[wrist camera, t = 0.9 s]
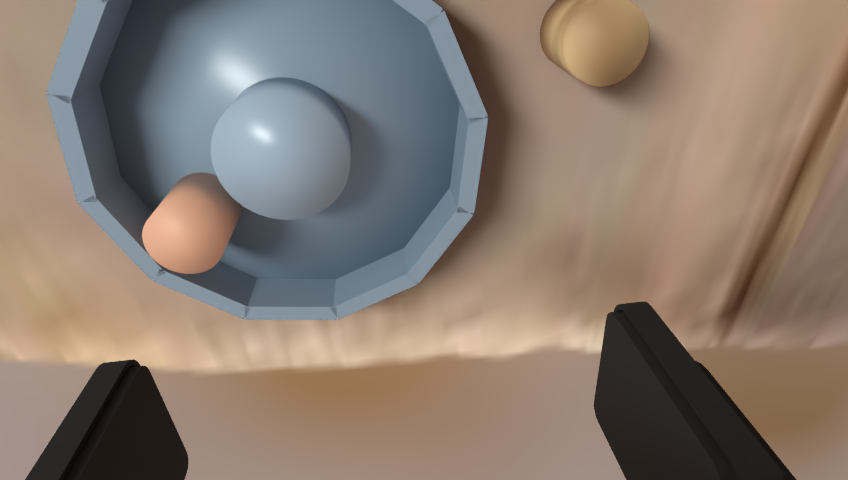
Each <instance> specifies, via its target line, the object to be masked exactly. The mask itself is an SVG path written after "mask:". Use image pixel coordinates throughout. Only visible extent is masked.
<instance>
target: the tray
mask: <svg viewBox="0 0 848 480" xmlns="http://www.w3.org/2000/svg"><path fill="white" fill-rule="evenodd" d="M46 92H47V93H49V94H46V96H47V100H48V103H49V107H50V110H51V114H52V117H53V121H54V124H55V128H56V131H57V135H58V138H59V141H60V145H61V148H62V152H63V155H64V159H65V162H66V166H67V169H68V173H69V176H70V180H71V183H72V187H73V190H74V194H75V197H76V201H77V202H79V203H78V204H79V205H80V206H81V207H82V208H83V209H84V210H85V212H86V213H87V214H88V215H89V216H90V217H91V218H92V219H93V220H94V221H95V222H96V223H97V224H98V225H99V226H100V227H101V228H102V229H103V230H104V231H105V232H106V233H107V234H108V236H109V237H110V238H111V239H112V240H113V241H114V242H115V243H116V244H117V245H118V246H119V247H120V248H121V249H122V250H123V251H124V252H125V253H126V254H127V255H128V256H129V257H130V259H131V260H132V261H133V262H134V263H135V264H136V265H137V266H138V267H139V268H140V269H141V270H142V271H143V272H144V273H145V274H146V275H147V276H148V277H149V278H150V279H151V280H152V279H154V280H153V281H154V282H156V283H158V284H161V285H163V286H165V287H168V288H170V289H173V290H175V291H177V292H180V293H182V294H185V295H187V296H189V297H192V298H194V299H196V300H199V301H201V302H204V303H206V304H208V305H211V306H213V307H216V308H218V309H220V310H223V311H225V312H228V313H230V314H232V315H235V316H237V317H239V318H242V319H244V318H246V320H337V318H338V319H341V318H343V317H345V316H348V315H350V314H352V313H354V312H357V311H359V310H361V309H363V308H366V307H368V306H370V305H372V304H375V303H377V302H379V301H381V300H384V299H386V298H388V297H390V296H393V295H395V294H397V293H399V292H402V291H404V290H406V289H408V288H411V287H413V286H415V285H417V282H418V283H420V281H421V280H422V279H423V278H424V276H425V275H426V274H427V273H428V271H429V270H430V269H431V268H432V266H433V265H434V264H435V263H436V261H437V260H438V259H439V258H440V256H441V255H442V254H443V253H444V251H445V250H446V249H447V248H448V246H449V245H450V244H451V243H452V241H453V240H454V239H455V238H456V236H457V235H458V234H459V233H460V231H461V230H462V229H463V228H464V226H465V225H466V224H467V223H468V221H469V220H470V219H471V218H472V216H473V213H474V212H475V205H476V198H477V191H478V184H479V178H480V171H481V164H482V157H483V150H484V144H485V137H486V130H487V123H488V117H487V116H488V115H487V112H486V110H485V108H484V105H483V103H482V100H481V98H480V96H479V93H478V91H477V88H476V86H475V83H474V81H473V79H472V76H471V74H470V71H469V69H468V66H467V64H466V62H465V59H464V57H463V54H462V52H461V50H460V47H459V45H458V42H457V40H456V37H455V35H454V33H453V30H452V28H451V25H450V23H449V20H448V18H447V16H446V13H445V11H444V10H443V8H442V7H440V6H439V5H438V4H437V3H436V2H435V1H433V0H78V1H77V4H76V7H75V10H74V13H73V16H72V19H71V22H70V25H69V27H68V30H67V33H66V36H65V39H64V42H63V45H62V48H61V51H60V53H59V56H58V59H57V62H56V65H55V68H54V71H53V74H52V77H51V79H50V82H49V85H48V88H47V91H46ZM198 172H204V173H210V174H214V175H217V177H218V179H219V181H220V183H221V184H222V186H223V187H224V189H225V190H226V191H227V192H228V193H229V195H230V196H231V197H232V198H234V199H235V200H236V201H237V202H238V203H240V204H241V205H242V213H241V216H240V218H239V220H238V222H237V225H236V227H235V229H234V231H233V233H232V235H231V238H230V240H229V242H228V244H227V246H226V248H225V251H224V253H223V255H222V257H221V259H220V260H219V262H218V263H217V264H216V265H215V266H214V267H212V268H211V269H209V270H207V271H205V272H201V273H196V274H184V273H178V272H174V271H172V270H169V269H167V268H165V267H163V266H161V265H160V264H159V263H157V262H156V261H155V260H154V259H153V258H152V257H151V256H150V255H149V253H148V252H147V250H146V248H145V246H144V243H143V239H142V231H143V227H144V224H145V223H146V221H147V220H148V218H149V217H150V216H151V215H152V213H153V212H154V211H155V209H156V208H157V207H158V206H159V204H160V203H161V202H162V201H163V199H164V198H165V197H166V196H167V194H168V193H169V192H170V191H171V189H172V188H173V187H174V185H175V184H176V183H177V182H178V181H179V180H180V179H181V178H183V177H184V176H186V175H189V174H192V173H198Z"/></svg>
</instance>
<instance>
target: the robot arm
mask: <svg viewBox="0 0 848 480" xmlns="http://www.w3.org/2000/svg"><path fill="white" fill-rule="evenodd" d="M594 409H595V414H596V418H597V420H598V422H599V424H600V426H601V429H602V430H603V432H604V435H605V437H606V439H607V441H608V443H609V445H610V447H611V449H612V451H613V453H614V455H615V457H616V459H617V461H618V463H619V465H620V467H621V469H622V471H623V474H624V476H625V478H626V479H627V480H796V479H795V477H794V476H793V475H792V474H791V473H790V471H789V470H788V469H787V468H786V467H785V465H784V464H783V463H782V462H781V460H780V459H779V458H778V457H777V455H776V454H775V453H774V451H773V450H772V449H771V448H770V446H769V445H768V444H767V443H766V442H765V440H764V439H763V438H762V437H761V436H760V434H759V433H758V432H757V431H756V429H755V428H754V427H753V425H752V424H751V423H750V422H749V421H748V419H747V418H746V417H745V416H744V414H743V413H742V412H741V411H740V409H739V408H738V407H737V406H736V404H735V403H734V402H733V401H732V400H731V398H730V397H729V396H728V395H727V393H726V392H725V391H724V390H723V388H722V387H721V386H720V385H719V383H718V382H717V381H716V380H715V378H714V377H713V376H712V375H711V374H710V372H709V371H708V370H707V369H706V368H705V367H704V366H703V365H702V364H701V363H699V362H697V361H694V360H693V358H692V357H691V356H690V355H689V353H688V352H687V351H686V349H685V348H684V347H683V346H682V344H681V343H680V342H679V341H678V339H677V338H676V337H675V336H674V334H673V333H672V332H671V331H670V329H669V328H668V327H667V326H666V324H665V323H664V322H663V320H662V319H661V318H660V317H659V315H658V314H657V313H656V312H655V310H654V309H653V308H652V307H651V305H649V304H648V303H647V302H636V303H627V304H619V305H617V306H616V307H615V310H614V312H610V313H608V315H607V318H606V325H605V332H604V339H603V345H602V352H601V360H600V366H599V373H598V380H597V386H596V393H595V400H594ZM187 469H188V455H187V452H186V450H185V447H184V445H183V443H182V441H181V438H180V436H179V434H178V432H177V430H176V428H175V425H174V423H173V421H172V419H171V417H170V414H169V412H168V410H167V408H166V406H165V403H164V401H163V399H162V397H161V395H160V393H159V390H158V388H157V386H156V384H155V382H154V380H153V377H152V375H151V373H150V371H149V369H148V368H147V367H146V366H140V364H139V363H138V362H137V361H136V360H126V361H117V362H108V363H103V364H101V365H99V367H98V368H97V369H96V370H95V372H94V373H93V375H92V377H91V378H90V380H89V381H88V383H87V385H86V386H85V387H84V389H83V391H82V392H81V394H80V395H79V397H78V398H77V400H76V402H75V403H74V405H73V406H72V408H71V409H70V411H69V413H68V414H67V416H66V417H65V419H64V420H63V422H62V423H61V425H60V426H59V428H58V429H57V431H56V433H55V434H54V436H53V437H52V439H51V440H50V442H49V443H48V445H47V447H46V448H45V450H44V451H43V453H42V454H41V456H40V458H39V459H38V461H37V462H36V464H35V465H34V467H33V468H32V470H31V472H30V473H29V475H28V476H27V478H26V479H25V480H184V479H185V476H186V473H187Z"/></svg>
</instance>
